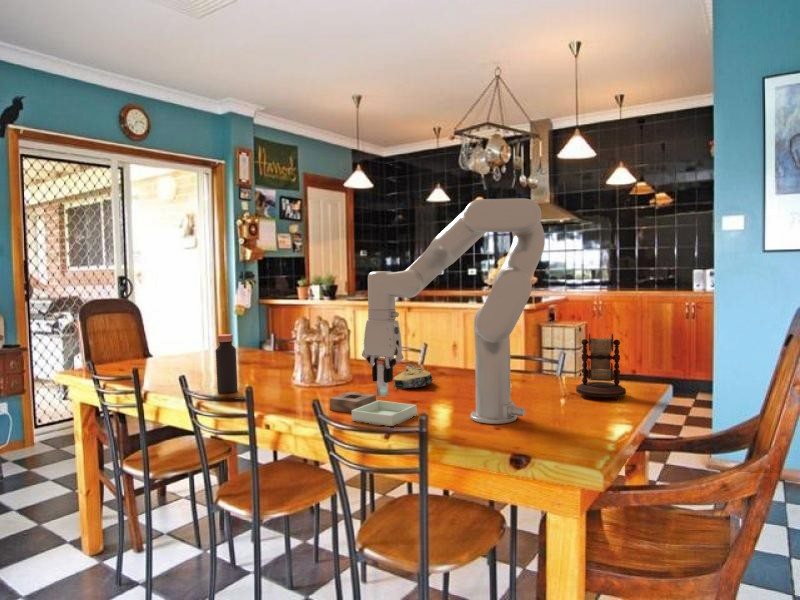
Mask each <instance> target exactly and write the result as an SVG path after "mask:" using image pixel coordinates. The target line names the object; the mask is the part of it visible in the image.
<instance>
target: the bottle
mask: <svg viewBox="0 0 800 600" xmlns="http://www.w3.org/2000/svg"><path fill="white" fill-rule="evenodd" d="M233 337H234V336H233V334H231V333H229V334H224V333H223V334H218V335H217V343H218V347H217V348H216V349H215V363H216V385H217V386H216V387H217V388H216V389H217V393H218V394H232V393H236V392H237V391H238V390H239V389H238V373H237V372H238V370H237V369H238V368H237V349H236V347H235V346H234V345H233V340H234V339H233Z"/></svg>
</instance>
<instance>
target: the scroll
mask: <svg viewBox="0 0 800 600" xmlns="http://www.w3.org/2000/svg"><path fill="white" fill-rule="evenodd" d="M620 344H621V341H620V339H614V334H613V333H611V337H610V338H604V337H603V338H601V337H600V338H597V337H596V338H594V337H591V333H590V332H589V333H588V339H587V338H583V339H582V340H581V345H582V350H581V352H582V354H581V360H582V364H581V366H582V369H581V373H582V374H581V375H582V380H581V382H582V383H581V384H579V385H577V386H576V389H575V391H576V393H578V394H580V395H582V396H583V399H584V400H586V399H587V398H588V396H589V397H594V398H595V397H596V398H615V400H616V401H617V402H618V401H619V400H620V398H621V397H623V396H625V395H626V394H627V389H626V388H625V387H624V386H622V385H621V384H620V383H621V381H620V374H621V370H620V364H619V363H620V361H621V355H620V350H619V349H620ZM587 347H588V349H587ZM588 351H589V353H590V354H587V353H588ZM612 352H613V354H614V355H611V353H612ZM588 360H590V361H589V362H588ZM611 360H613V361H614V366H613V362H611ZM587 362H588V363H587ZM613 367H614V368H613ZM587 377H588V378H587ZM613 379H614V381H613ZM588 380H589V381H588ZM611 381H613V382H611Z"/></svg>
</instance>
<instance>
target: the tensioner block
mask: <svg viewBox="0 0 800 600" xmlns="http://www.w3.org/2000/svg"><path fill="white" fill-rule="evenodd" d="M375 401H377V394H371V393H366V392H365V393H362V392H355V391H348V392H345V393H342V394H339V395H336V396H333V397H330V398H329V411H333V412H334V411H336V412H343V413H350V414H352V412H351V410H354V409H357V408H359V407H362V406H364V405H367V404H370V403H372V402H375Z"/></svg>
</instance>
